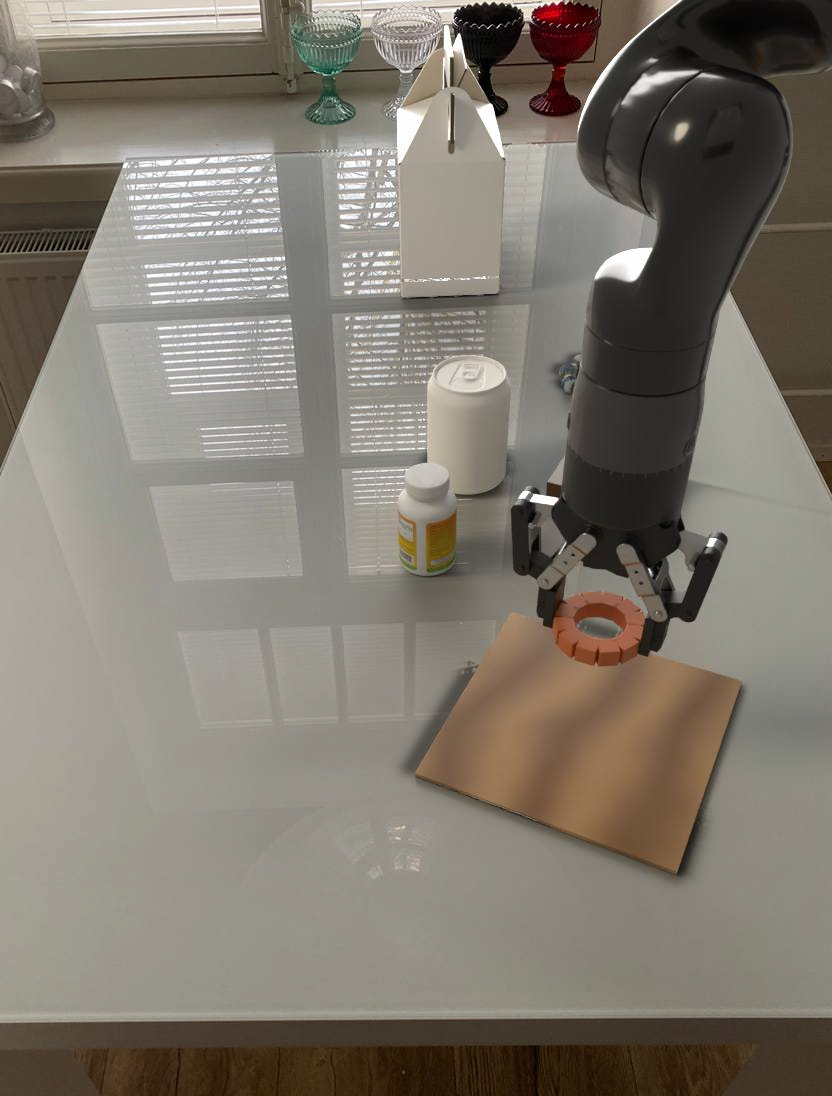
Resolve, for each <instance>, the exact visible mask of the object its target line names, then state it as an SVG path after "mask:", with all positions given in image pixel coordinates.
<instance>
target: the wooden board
mask: <svg viewBox="0 0 832 1096" xmlns="http://www.w3.org/2000/svg"><path fill="white" fill-rule="evenodd" d="M584 634H585V633H584ZM585 635H587V636H590V637H594V638H597V639H601V638H600V637H596V636H593V635H589V634H585ZM574 658H575V656H574V657H572V658H570V657H569V656H567V655H566V654H565V653H564V652H563V651H562V650H560V649H559V648H558V644H555V640H554V636H553V632H552V628H549V627H545V626H543V620H539V619H536V618H532V617H529V616H527V615H526V616H525V615H522V614H519V613H515V612H512V611H511V612H510V613H509V615H508V616H507V619H505V622H504V623H503V625H502V626H501V628H500V630H499V631H498V633H497V635H496V637H495V638H494V640H493V642H492V643H491V645H490V647H489V648H488V650H487V651H486V653H485V655H484V657H483V658H482V660H481V661H480V663H479V665H478V667H477V668H476V670H475V671H474V674H473V675H472V676H471V679H470V680H469V681H468V683H467V685H466V687H465V688H464V690H463V692H462V693H461V695H460V697H459V698H458V699H457V702H456V704H455V705H454V707H453V708H452V710H451V712H450V714H449V715H448V717H447V718H446V720H445V722H444V723H443V725H442V727H441V728H440V730H439V732H438V734H437V735H436V737H435V739H434V740H433V742H432V744H431V745H430V747H429V749H428V750H427V751H426V753H425V755H424V757H423V758H422V760H421V762H420V764H419V765H418V767H417V769H416V770H415V772H414V777H416V776H417V777H416V778H418V777H420V778H419V779H421V778H422V779H421V780H423V779H425V780H424V781H426V780H428V781H427V782H429V781H431V782H433V783H432V784H434V783H437V784H440V785H442V786H445V787H447V788H449V789H448V790H450V789H453V790H456V791H458V792H461V793H463V794H467V795H470V796H474V797H476V798H480V799H482V800H485V801H487V802H489V803H493V804H495V805H498V806H500V807H504V808H506V809H508V810H512V811H515V812H518V813H520V814H522V815H524V816H528V817H530V818H532V819H535V820H537V821H539V822H540V823H543V824H546V825H548V826H550V827H549V828H551V827H552V828H551V829H553V828H554V829H553V830H556V829H557V830H556V831H559V832H562V833H563V834H567V835H570V836H572V837H575V838H578V839H581V840H583V841H586V842H588V843H590V844H592V845H596V846H599V847H601V848H604V849H606V850H609V851H612V852H614V853H617V854H620V855H622V856H625V857H628V858H630V859H633V860H634V861H635V860H636V861H638V862H641V863H644V864H646V865H648V866H650V867H654V868H657V869H660V870H662V871H663V872H664V871H665V872H668V873H669V874H672V875H676V876H677V875H678V872H679V869H680V866H681V863H682V860H683V857H684V855H685V852H686V848H687V846H688V843H689V840H690V837H691V834H692V831H693V828H694V825H695V822H696V819H697V816H698V814H699V810H700V807H701V805H702V801H703V799H704V795H705V793H706V790H707V788H708V784H709V781H710V779H711V778H710V777H711V776H712V772H713V769H714V767H715V763H716V760H717V757H718V754H719V751H720V748H721V746H722V742H723V739H724V736H725V733H726V731H727V728H728V725H729V722H730V719H731V716H732V713H733V710H734V707H735V704H736V701H737V698H738V696H739V692H740V690H741V687H742V684H743V680H741V679H738V678H733V677H731V676H727V675H723V674H720V673H717V672H714V671H710V670H707V669H704V668H700V667H697V666H693V665H690V664H686V663H683V662H680V661H676V660H673V659H670V658H667V657H664V656H661V655H655V654H653V653H650V654H649V656H648V657H646V656H642V655H639V654H637V656H636V657H635V658H633V659H631V660H629V661H627V662H626V663H624V664H621V663H618V665H617V666H601V667H598V665H597V662H596V663H595V665H594V666H591V665H588V664H585V663H581V662H578V661H575V660H574ZM431 782H430V783H431ZM437 784H436V785H437ZM442 786H441V787H442ZM445 787H444V788H445ZM447 788H446V789H447ZM453 790H452V791H453ZM458 792H457V793H458ZM461 793H460V794H461ZM463 794H462V795H463ZM540 823H539V824H540ZM543 824H542V825H543ZM548 826H547V827H548Z"/></svg>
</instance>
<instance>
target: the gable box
mask: <svg viewBox="0 0 832 1096" xmlns="http://www.w3.org/2000/svg"><path fill="white" fill-rule="evenodd" d="M443 31H444V32H443V47H440V48H438V49H435V50H434V51H433V52H432V53H431V54H430V55H429V56H428V58H427V60H426V62H425V63H424V65H423V66H422V69H421V70H420V72H419V74H418V75H417V77H416V79H415V80H414V81H413V84H412V86H411V87H410V89H409V91H408V93H407V94H406V96H405V97H404V100H403V101H402V102H401V105H400V106H399V108H398V109H397V110H396V129H397V132H396V133H397V171H398V172H397V177H398V179H397V181H398V222H399V224H398V225H399V263H400V264H399V265H400V266H399V267H400V279H401V278H402V279H424V278H432V279H440V278H442V279H444V278H450V279H452V278H468V277H483V276H486V277H488V276H498V275H500V276H501V265H502V244H503V225H504V205H505V204H504V203H505V181H506V163H507V161H506V160H507V159H506V155H505V151H504V146H503V143H502V138H501V133H500V130H499V125H498V121H497V119H496V114H495V110H494V106H493V104H492V103H491V102H490V101H489V98H488V97H487V96H486V93H485V91H484V90H483V89H482V86H481V85H480V84H479V82H478V80H477V78H476V76H475V75H474V73H473V72H472V70H471V68H470V66H469V65H468V63H467V59H466V56H465V51H464V46H463V45H464V44H463V40H462V36H461V33H457V36H456V38H455V41H454V43H453V44H452V39H451V33H450V27H449V25H444V30H443ZM500 282H501V277H500V278H496V279H472V280H448V281H424V282H401V281H400V297H401V296H402V297H408V296H432V295H457V294H482V293H498V292H499V293H500V287H501V285H500ZM499 293H498V294H499Z"/></svg>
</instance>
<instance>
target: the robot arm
mask: <svg viewBox="0 0 832 1096" xmlns="http://www.w3.org/2000/svg"><path fill="white" fill-rule="evenodd" d="M830 70H832V0H678V1H677V2H675V3H674V4H673V5H672V6H670V7H669V8H668V9H666V10H665V11H664V12H663V13H662V14H660V15H659V16H658V17H656V19H654V20H653V21H652V22H650V23H649V24H648V25H647V26H646V27H645V28H643V29H642V30H641V31H640V32H639V33H638V34H637V35H635V36H634V37H633V38H632V39H630V40H629V42H628V43H627V44H626V45H625V46H623V48H622V49H621V50H620V51H619V52H618V53H617V54H616V56H614V58H613V59H612V60H611V61H610V63H609V64H608V65H607V66H606V68H605V69H604V70H603V72H602V73H601V74H600V76H599V78H598V79H597V80H596V83H594V86H593V87H592V90H591V91H590V93H589V95H588V97H587V100H586V102H585V104H584V106H583V109H582V112H581V115H580V118H579V122H578V127H577V131H576V139H575V144H576V145H575V151H576V159H577V164H578V167H579V169H580V173H581V174H582V176H583V177H584V179H585V180H586V182H587V183H588V184H589V185H590V186H591V187H592V188H593V189H594V190H596V191H597V192H598V193H600V194H601V195H603V196H605V197H607V198H609V199H611V200H612V201H614V202H616V203H618V204H621V205H623V206H625V207H627V208H629V209H632V210H633V211H636V212H638V213H640V214H642V215H644V216H646V217H647V218H650V219H652V220H654V221H656V233H655V238H654V241H653V245H652V247H638V248H633V249H628V250H624V251H621V252H619V253H616V254H613V255H612V256H610V257H609V258H607V259H606V260H605V261H604V262H603V263H602V264H601V265H600V266H599V267H598V269H597V270H596V272H595V274H594V277H593V279H592V281H591V285H590V289H589V293H588V297H587V298H588V299H587V306H586V311H585V320H584V326H583V327H584V329H583V337H582V345H581V352H580V353H581V354H580V355H581V362H580V367H579V372H577V376H576V377H577V379H576V383H575V387H574V391H573V393H572V395H571V401H570V409H569V410H568V414H567V422H566V428H567V436H566V443H565V454H564V455H565V461H564V470H563V479H562V487H561V494H560V495H559V497H558V498H555V497H549V496H546V495H542V494H541V492H540V490H539V488H538V487H536V486H535V485H526V486H525V487H524V489H523V490H522V492H520V494H519V495H518V497H517V498H516V500H515V501H514V503H513V504H512V506H511V508H510V526H511V530H510V531H511V546H512V547H511V548H512V549H511V551H512V552H511V553H512V570H513V571H514V573H516V574H517V575H518V576H521V577H525V576H530V577H531V578H533V579H534V580H535V581H536V584H537V585H538V590H537V591H538V592H537V600H536V608H535V609H536V611H535V612H536V615H537V617H538V618H540V619H542V621H543V626H545V627H549V628H552V627H553V619H554V616H555V613H556V611H557V609H558V608H559V606H560V604H561V603H563V600H564V596H565V588H566V582H567V581H566V580H567V575H568V574H569V573H570V572H571V571H572V570H573V569H574V568H575V567H576V566H577V565H578V564H579V563H580V562H581V563H582V567H584V568H585V567H586V568H589V569H592V570H604V571H607V572H609V573H611V574H613V575H615V576H619V577H622V578H625V579H629V580H630V582H631V584H632V587H633V589H634V592H635V595H636V596H637V597H638V598H640V597H641V599H642V601H643V603H644V606H645V609H646V611H647V614H646V616H645V622H644V627H643V632H642V637H641V641H640V646H639V651H638V654H639V655H642V656H646V657H648V656H649V654H651V652H655V653H658V652H659V651H660V650H661V649H662V647H663V644H664V643H665V641H666V638H667V635H668V631H669V627H670V623H671V619H676V618H677V619H679V620H680V621H682V622H684V623H687V624H688V623H689V624H690V623H693V622H695V621H696V620H697V617H698V615H699V612H700V610H701V608H702V606H703V603H704V600H705V598H706V596H707V593H708V591H709V589H710V586H711V584H712V581H713V579H714V576H715V574H716V571H717V570H718V567H719V564H720V562H721V560H722V558H723V555H724V552H725V550H726V547H727V545H728V542H729V537H728V536H727V535H726V534H725V533H724V532H722V531H712V532H711V533H710V534H709V535H708V537H707V536H704V535H702V534H698V533H696V532H692V531H690V530H687V529H686V526H685V523H684V521H683V518H682V508H683V504H684V500H685V499H684V498H685V495H686V492H687V491H686V490H687V486H688V482H689V477H690V472H691V468H692V463H693V459H694V454H695V449H696V445H697V440H698V438H699V437H698V435H699V433H700V427H701V423H702V418H703V412H704V406H705V395H706V379H707V373H708V369H709V365H710V360H711V356H712V352H713V351H712V350H713V345H714V342H715V337H716V332H717V328H718V323H719V318H720V312H721V309H722V307H723V304H724V302H725V300H726V298H727V296H728V295H729V293H730V291H731V288H732V287H733V285H734V283H735V281H736V279H737V276H739V273H740V271H741V270H742V267H743V265H744V263H745V261H746V259H747V258H748V255H749V253H750V251H751V249H752V248H753V246H754V243H755V241H756V240H757V238H758V236H759V234H760V232H761V230H762V229H763V226H764V225H765V223H766V221H767V219H768V217H769V215H770V214H771V212H772V209H773V208H774V207H775V204H776V203H777V201H778V199H779V196H780V194H781V193H782V190H783V187H784V185H785V183H786V180H787V176H788V174H789V172H790V167H791V162H792V156H793V147H794V131H793V130H794V129H793V121H792V117H791V111H790V108H789V106H788V102H787V100H786V98H785V96H784V95H783V93H782V92H781V91H780V90H779V88H778V87H777V86H776V85H775V84H773V83H772V82H770V81H769V80H771V79H775V78H782V77H795V76H798V77H799V76H812V75H819V74H823V73H826V72H828V71H830ZM548 517H551V520H552V521H553V523H554V525H555V527H556V528H557V531H559V533H560V534H561V536H562V538H563V539H564V541H563V542H562V543H561V545H560V546H559V547H558V548H557V549H556V550H555V551H554V552H553V554H552V555H551V556H549V555H548V554H546V553H544V552H543V551H542V526H543V525H544V523H545V522H546V520H547V519H548ZM677 550H679V551H681V552H682V553H683V554H684V564H685V566H686V567H687V570H688V571H689V572H690V573H691V572H692V575H691V578H690V581H689V583H688V586H687V588H686V590H676V588H675V586H674V585H675V584H674V582H673V580H672V578H671V575H670V564H669V560H668V558H667V557H669V556H670V555H672V554H673V553H675V552H676V551H677Z"/></svg>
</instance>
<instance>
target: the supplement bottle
mask: <svg viewBox="0 0 832 1096" xmlns="http://www.w3.org/2000/svg"><path fill="white" fill-rule="evenodd" d="M449 486H450V476H449V472H448V470H447V469H446V468H445V467H443V466H441V465H438V464H435V463H427V462H422V463H418V464H414V465H412V466H411V467H408V469H407V470H406V471H405V473H404V488H403V489H402V490H401V491H400V493H399V495H398V498H397V532H398V556H399V557H398V558H399V562H400V564H401V566H402V567H403V568H404V570H406V571H408V572H409V573H410V574H413V575H416V576H421V577H432V576H438V575H441V574H444V573H446V572H447V571H449V570H450V569H451V568H452V567H453V565H454V564H455V561H456V557H457V521H458V520H457V517H458V516H457V515H458V514H457V513H458V502H457V501H458V500H457V497H456V494H455V493H454V492H453V491H452V490H451V489H450V488H449Z"/></svg>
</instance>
